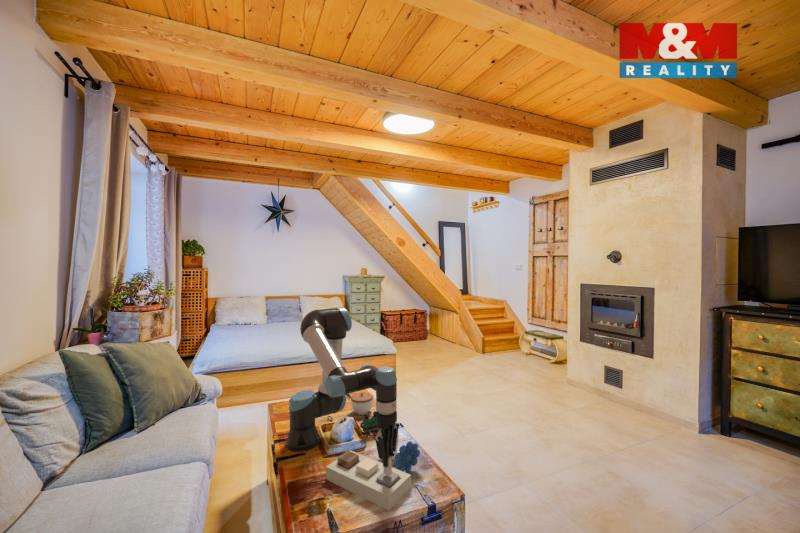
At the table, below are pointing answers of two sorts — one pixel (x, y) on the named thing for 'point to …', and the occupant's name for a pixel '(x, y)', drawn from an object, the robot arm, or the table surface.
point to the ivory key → (367, 468)
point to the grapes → (407, 457)
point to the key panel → (369, 483)
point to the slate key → (388, 479)
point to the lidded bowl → (362, 402)
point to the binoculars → (370, 424)
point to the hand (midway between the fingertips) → (387, 473)
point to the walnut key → (348, 460)
